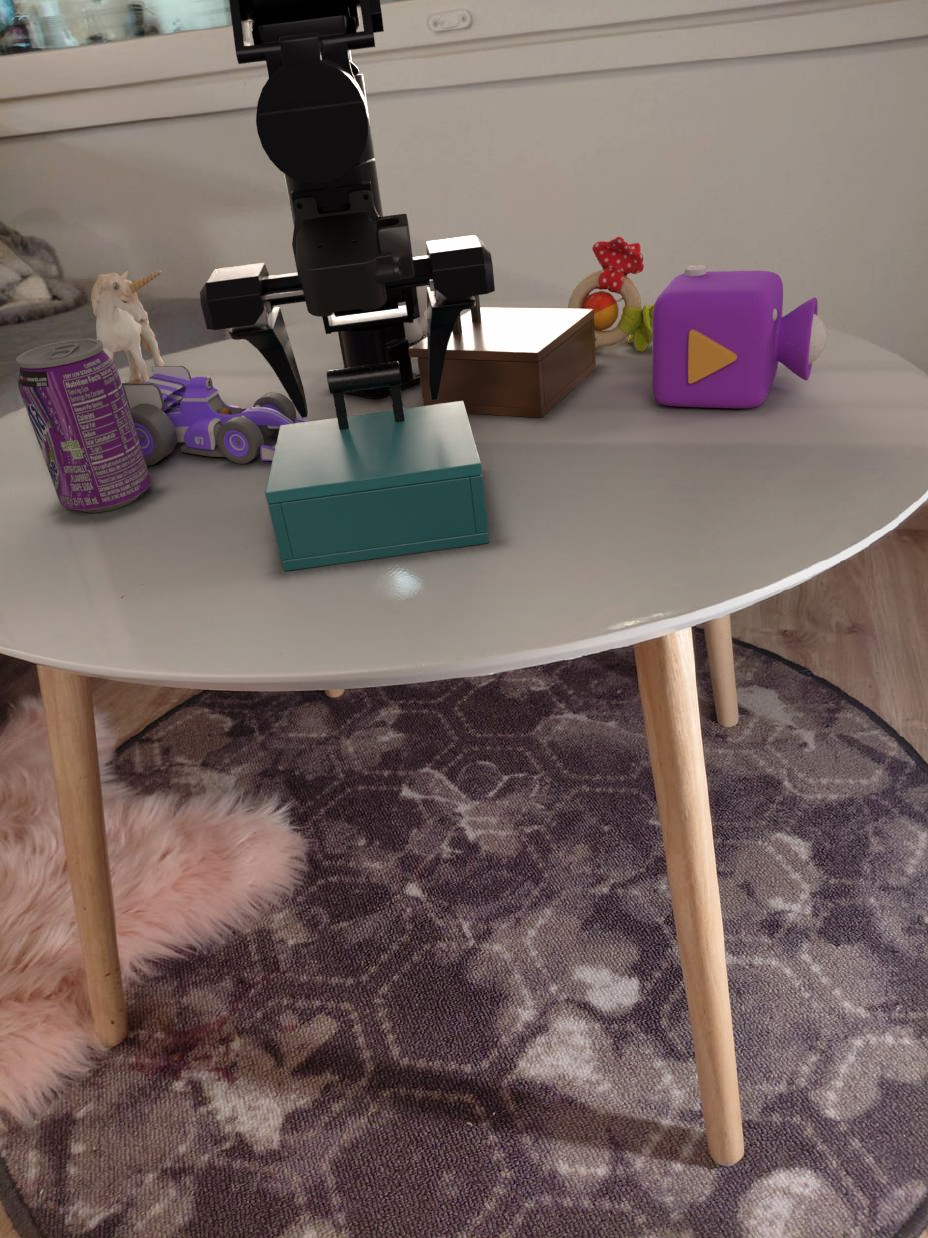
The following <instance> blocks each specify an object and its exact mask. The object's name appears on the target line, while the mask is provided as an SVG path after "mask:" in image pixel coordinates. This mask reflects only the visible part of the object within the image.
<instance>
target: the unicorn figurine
mask: <svg viewBox="0 0 928 1238" xmlns="http://www.w3.org/2000/svg"><path fill="white" fill-rule="evenodd" d="M162 273H163V270H161V269H160V270H157V271H154V272H153V273H150V274H149V275H148V274H147V275H146V276H144V277H142V278H140V279H138V280H137V281H134V282H132V280H130V279H127V278H128V274H129V270H127V271H125V272H124V273H122V275H120V274H118V273H117V272H116V271H115V272H109V273H106V274H105V273H99V274H98V275H97V279H96V281H95V282H94V284H93V287H92V289H91V293H90V302H91V306H92V308H93V309H92V313H93V315H94V316H95V317H96V318H95V319H96V321H95V333H96V339H97V340H100V341H102V343H103V347H104V348H103V350H104V352H105V353H106V354H107V355H108V356H109V357H110V358H111V360H112V361H113V362H114V354H115V353H119V352H124V353H125V355H126V358H127V360H128V368H129V371H130V375H129V383H143V382H145V381H147V380H149V377H150V375H149V372H148V369H147V363H146V361H145V359H144V358H143V354H142V348H143V349H144V350H146V352H147V353H148V354H149V355H152V358H153V366H166V365H165V362H164V360H163V358H162V356H161V351H160V348H159V344H158V341H157V340H156V339H157V336H156V334H155V333H154V331H153V330H152V328H151V327H150V321H149V316H148V315H149V314H148V312H147V311H146V310H145V309H144V306H143V304H142V302H141V300H139V295H138V293H137V291H139V290H141V288H144V286H146V285H147V284H149V283H150V282H151V281H153V280H155V279H156V278H158V277H159V276H160V275H161V274H162ZM141 347H142V348H141ZM140 373H141V375H142V377H141V375H140ZM142 379H143V380H142Z"/></svg>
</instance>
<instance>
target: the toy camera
mask: <svg viewBox="0 0 928 1238" xmlns="http://www.w3.org/2000/svg"><path fill="white" fill-rule="evenodd" d="M654 304H655V305H654V309H653V326H652V342H651V345H652V350H651V351H652V391H653V396H654V398H655V401H656V402H658V403H659V404H661V405H664V406H668V407H669V406H670V407H679V408H681V407H684V408H707V409H709V408H710V409H711V408H713V409H714V408H715V409H751V408H756V407H758V406H760V405H762V404H763V402H764V401H765V400H766V399H767V397H768V395H769V393H770V390H771V388H772V386H773V383H774V380H775V378H776V375H777V372H778V366H779V363H780V364H782V365H784V366H785V368H787V369H788V370H789V371H791V372H792V373H793V374H794V375H796V376H797V377H799V378H800V379H802V380H803V381H808V380H809V379H810V377H811V374H812V366H813V364H814V363H815V362H816V361H817V360H818V359H819V358H820V357H821V356H822V353H823V352H824V350H825V348H826V344H827V329H826V326H825V323H824V321H823V320H822V318H821V317H820V316H818V311H819V310H818V308H819V307H818V306H819V305H818V298H817V297H812V298H810V299H808V300H806V301H805V302H803V303H802V304H800V305H798V306H797V307H796V308H794V309H793V310H791V311H790V312H789V313H787V314H785V315H783V309H784V308H783V305H784V284H783V280H782V278H781V276H780V275H779V274H778V273H777V272H774V271H770V270H721V271H720V270H717V271H716V270H715V271H714V270H713V271H707V266H705V265H701V264H697V265H689V266H686V267H685V269H684V273H681V274H678V275H677V276H675V277H674V278H673V279H672V280H671V281H670V282H669V284H668V285H666V287H665V288H664V289H663V290H662V291H661V293H660V294H659V295H658V297H657V298H656V299H655V302H654Z"/></svg>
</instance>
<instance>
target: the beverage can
mask: <svg viewBox="0 0 928 1238" xmlns="http://www.w3.org/2000/svg"><path fill="white" fill-rule="evenodd" d="M103 348H104V347H103V343H102V341H100V340H97V338H77V339H76V338H75V339H69V340H68V339H67V340H62V341H57V342H52V343H47V344H43V345H39V346H37V347H34V348H31V349H29V350H26V351H24V352H22V353H21V354H18V355H17V356H16V358H15V363H16V364H17V366H18V367H19V372H18V373H19V374H18V379H17V380H18V381H17V387H18V390H19V393H20V395H21V399H22V401H23V404H24V407H25V409H26V413H27V415H28V418H29V420H30V423H31V427H32V429H33V432H34V434H35V438H36V440H37V443H38V446H39V448H40V451H41V455H42V456H43V459H44V463H45V465H46V468H47V470H48V471H47V472H48V473H49V476H50V480H51V481H52V485H53V488H54V490H55V493H56V495H57V499H58V501H59V504H60V505H61V506H62V507H63V508H66V509H67V510H68V509H69V510H74V511H80V512H83V513H89V514H91V513H92V514H96V513H105V512H109V511H113V510H116V509H119V508H123V507H125V506H127V505H129V504H131V503H132V502H134V501H135V500H137V499H138V498H139V497H140V495H142V494H143V493H144V492H145V491H147V490H148V489H149V488H150V486H151V485H152V479H151V475H150V472H149V469H148V466H147V465H146V462H145V459H144V456H143V452H142V449H141V446H140V442H139V439H138V436H137V433H136V429H135V426H134V423H133V420H132V416H131V413H130V410H129V406H128V403H127V400H126V397H125V393H124V390H123V387H122V383H123V382H122V380H121V378H120V374H119V371H118V368H117V365H116V363H115V362H114V360H113V361H112V360H111V358H110V357H109V356H108V355H107V354H106V353H105V352H104V350H103Z"/></svg>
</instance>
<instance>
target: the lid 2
mask: <svg viewBox="0 0 928 1238" xmlns="http://www.w3.org/2000/svg"><path fill="white" fill-rule="evenodd" d="M474 297H475V303H476V305H475V307H474V308H471V309H470V310H469V311H467V312H465V313H464V314H460V315H459V317H458V319H457V321H456V323H455V325H454V328H453V331H452V334H451V337H450V340H449V343H448V347H447V351H446V356H445V359H468V360H494V361H520V362H539V361H540V360H541V359H543V358H544V357H545V356H546V355H548V354H549V353H550V352H551V351H553V350H554V349H555V348H556V347H558V346H559V345H560V344H561V343H563V342H564V341H565V340H566V339H568V338H569V337H570V336H572V335H573V334H574V333H575V332H577V331H578V330H579V329H580V328H582V327H583V326H584V325H585V324H587V323H588V322H589V321H590V320H592V319H593V318H594V309H568V308H552V307H551V308H547V307H541V308H539V307H531V308H530V307H481V302H480V295H476V296H474ZM408 351H409V357H411V358H416V359H418V358H428V351H427V336H426V337H424V338H423V339H420V340H419V341H417V343H415V344H413V345H411V346H409V348H408Z"/></svg>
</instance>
